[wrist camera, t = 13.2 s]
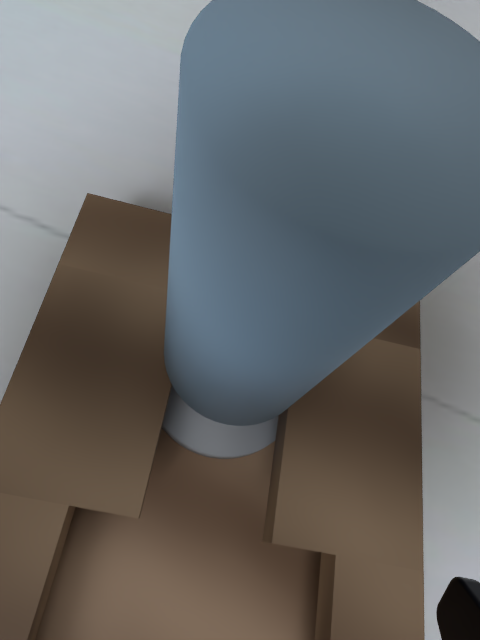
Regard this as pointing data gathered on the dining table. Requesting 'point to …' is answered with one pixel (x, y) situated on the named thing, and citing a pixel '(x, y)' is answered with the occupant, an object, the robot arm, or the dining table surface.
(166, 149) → the dining table surface
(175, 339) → the keyhole stud
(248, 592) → the keyhole board
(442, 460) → the dining table surface
